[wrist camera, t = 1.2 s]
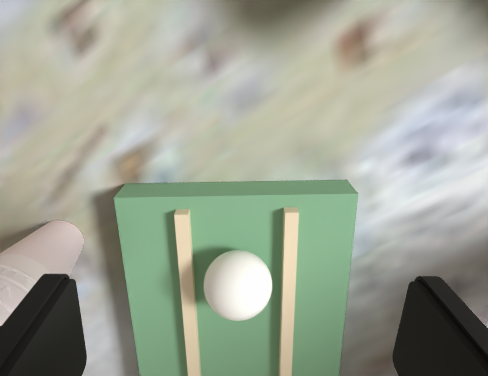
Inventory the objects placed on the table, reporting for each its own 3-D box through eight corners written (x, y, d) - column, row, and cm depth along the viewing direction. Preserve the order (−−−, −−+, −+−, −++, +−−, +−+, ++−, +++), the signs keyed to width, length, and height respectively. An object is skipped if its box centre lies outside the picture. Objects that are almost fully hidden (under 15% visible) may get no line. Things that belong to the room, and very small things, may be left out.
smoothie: (41, 278, 33) (-85, 429, 20) (10, 214, 31) (-156, 337, 18) (110, 263, 33) (27, 408, 20) (83, 198, 31) (-31, 312, 17)
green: (346, 179, 30) (371, 210, 25) (321, 448, 42) (335, 511, 36) (125, 183, 30) (99, 215, 25) (161, 453, 42) (149, 516, 36)
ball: (269, 237, 29) (276, 274, 24) (268, 291, 31) (274, 335, 26) (204, 238, 29) (198, 275, 24) (207, 292, 30) (202, 337, 26)
